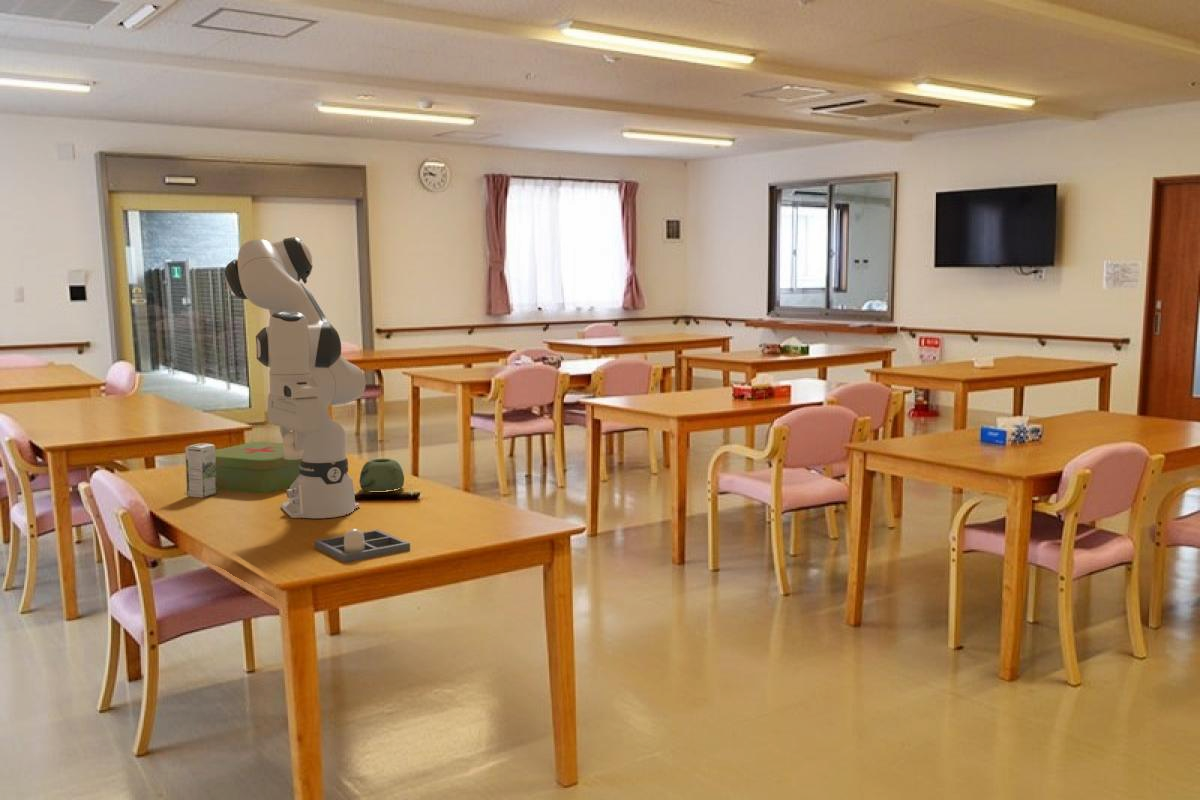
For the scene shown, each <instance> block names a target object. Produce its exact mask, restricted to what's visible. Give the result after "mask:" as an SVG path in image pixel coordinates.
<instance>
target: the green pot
mask: <svg viewBox="0 0 1200 800" xmlns="http://www.w3.org/2000/svg"><path fill="white" fill-rule="evenodd" d="M404 483H405V475H404V471H403V468H402V466H401V464H400V463H399V462H398V461H397V460H395V459H391V458H374V459H371V460H368V461H366V462H365V464H363V466H362V469H361V471H360V474H359V486H360V489H361V490H363V491H364V490H365V491H364V492H366V491H386V490H394V489H398V488H401V487H402V486H403V487H404V485H405V484H404ZM403 487H402V488H403ZM402 488H401V489H402Z"/></svg>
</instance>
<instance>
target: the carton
mask: <svg viewBox="0 0 1200 800" xmlns="http://www.w3.org/2000/svg"><path fill="white" fill-rule="evenodd" d="M362 533H363V534H364V541H365V550H364V551H359V552H354V553H348V554H347V553H345V552H344V535H345V534H344V535H339V536H333V537H327V538H322V539H315V540H314V548H315V549H316V550H317V549H318V550H319V551H320V552H323V553H326V554H328V555H329V556H331V557H333V558H334V559H335V558H336V559H337V560H340V561H341V562H343V563H345V564H346V563H349V562H350V563H351V562H354V561H355V562H356V561H360V560H366V559H370V558H375V557H380V556H386V555H391V554H396V553H401V551H402V552H406V550H407V551H410V550H411V543H410V542H408V541H406V540H404V539H401V538H399V537H396V536H394V535H392V534H389V533H387V532H385V531H382V530H381V529H380V530H379V529H373V530H367V531H362Z"/></svg>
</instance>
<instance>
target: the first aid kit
mask: <svg viewBox="0 0 1200 800" xmlns="http://www.w3.org/2000/svg"><path fill="white" fill-rule="evenodd" d="M215 454H216V483H217V490H223V491H233V492H234V491H235V492H244V493H245V492H246V493H255V494H256V493H257V494H270V493H276V492H279V491H282V490H283V491H284V490H287V489H290V486H291V484H292V483H293V482H294V481H295V480H296V479H297V477H298V476H299V475H300V473H299V470H300V468H299V467H300V463H301V462H300V461H301V460H302V459H297V460H286V459H283V442H270V441H253V442H248V443H242V444H237V445H232V446H229V447H225V448H221V449H220V448H219V449H215Z"/></svg>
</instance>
